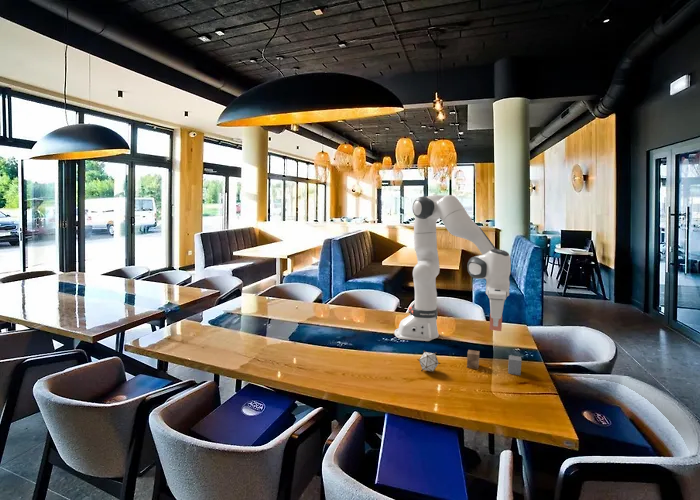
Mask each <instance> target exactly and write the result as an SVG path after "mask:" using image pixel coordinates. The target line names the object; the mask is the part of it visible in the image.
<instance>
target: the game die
mask: <svg viewBox="0 0 700 500" xmlns="http://www.w3.org/2000/svg"><path fill="white" fill-rule="evenodd" d="M436 354H437V352H435V353H434V352H433V353H432V352H429V351H428V352H427V351H425V350H423V353H422V354H421V357H420V358H419V359H418V358H417V359H416V360H417V361H418V362H419V364H420V367H421V370H420V372H423V371H426V372H427V371H428V372H432V374H435V370H436V368H438V365H440V364H442V363H441V362H439V360H438V357H437V355H436Z"/></svg>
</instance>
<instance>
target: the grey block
mask: <svg viewBox="0 0 700 500" xmlns="http://www.w3.org/2000/svg"><path fill="white" fill-rule="evenodd" d="M507 366H508V367H507V373H508V374H509V375H516V376H521V375H522V374H521V373H522V356H518V355H510V354H509V355H508V364H507Z"/></svg>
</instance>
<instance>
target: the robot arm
mask: <svg viewBox="0 0 700 500" xmlns="http://www.w3.org/2000/svg"><path fill="white" fill-rule="evenodd" d="M466 210H467V209H465V207H464V206H463V204H462V203H461V201H459V199H458V198H457V197H456V196H455V195H452V194H448V195H447V194H445V195H442V194H440V195H438V194H435V195H427V196H419V197H418V198H416V199H414V201H413V204H412V213H413V215H414V222H413V223H414V224H413V237H414V238H413V241H414V251H415V254H416V260H417V261H416V262H417V263H416V264H415V265H414V267H413V269H412V278H413V279H412V280H413V288H414V306H413V307H412V306H409V307H408V311H409V313H410V314H409V315H407V316H406V317H404V318H402V319H401V320H400V322H399V325H398V328H396V329H395V330H394V336H395V337H396V338H398V339H400V340H409V341H421V342H424V341H425V342H430V341H432V340H434V339H437V338H438V337H440V334H439V331H438V324H437V323H438V321H437V320H438V308H437V307H438V306H437V305H438V304H437V302H438V299H437V298H438V292H437V282H436V281H437V280H436V278H437V276H438V275H439V274H440V270H441V269H440V259H439V252H438V244H437V243H438V242H437V241H438V239H437V238H438V235H437V221H438V220H439V219H440V220H441V221H442V223H443V225H444V227H445V229H446V231H448V233H450V234H451V235H452V236H454V237H456V238H461V239H464V240H467V241H469V242H471V243H472V244H474V245H475V246H476V248H477V249H478V250H479V252H480V254H479V255H475V256H472V257H470V258H469V259H468V262H467V266H466V267H467V272H468V274H469V276H470V277H471V278H473V279H478V280H482V279H483V280H484V279H485V281H486V283H485V294H486V295H487V297H488V299H489V308H490V311H489V312H491V318H493V326H498V321H499V319H501V317H502V318H503V311H504V305H505V301H506V300H507V297H509V296H510V286H511V285H510V284H511V282H510V275H511V266H512V265H511V264H512V263H511V255H510V253H509V252H507V251H506V250H504V249H500V248H499V249H498V248H496V247H495V245H494V244H493V242H492V241H491V240H490V239H489V237H488V235H487V233H485V232H484V230H483V229H482V228H481V227H480V226H479V225H478V224H477V223H476V222H475V221H474V220H473V219H472V218H471V217H470V215H469V213H468V212H467V211H466Z"/></svg>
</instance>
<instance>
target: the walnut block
mask: <svg viewBox="0 0 700 500" xmlns="http://www.w3.org/2000/svg"><path fill="white" fill-rule="evenodd" d="M466 357H467V358H466V368H469V369H476V370H478V369H479V366H480V364H479V363H480V350H473V349H468V350H467V356H466Z"/></svg>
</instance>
